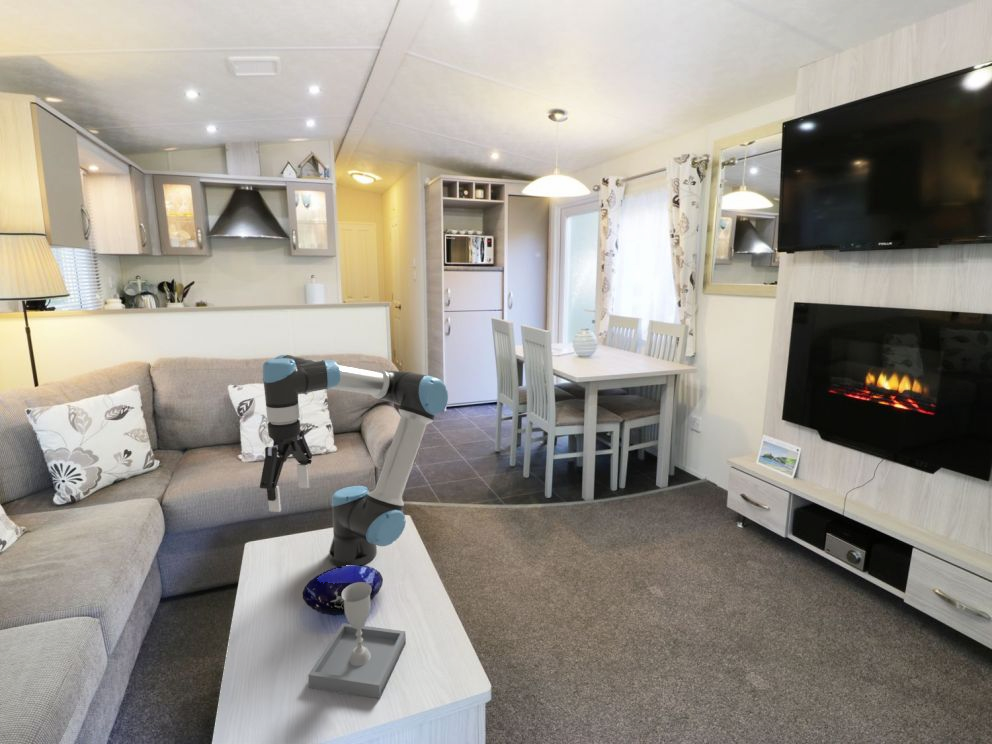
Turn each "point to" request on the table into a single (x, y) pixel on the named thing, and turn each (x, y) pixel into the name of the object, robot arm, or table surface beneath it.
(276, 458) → the robot arm
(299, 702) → the table surface
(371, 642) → the tray
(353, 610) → the chalice
